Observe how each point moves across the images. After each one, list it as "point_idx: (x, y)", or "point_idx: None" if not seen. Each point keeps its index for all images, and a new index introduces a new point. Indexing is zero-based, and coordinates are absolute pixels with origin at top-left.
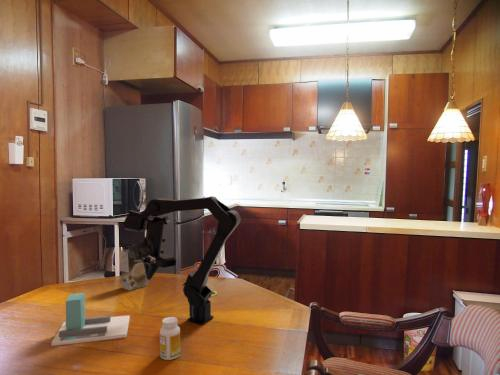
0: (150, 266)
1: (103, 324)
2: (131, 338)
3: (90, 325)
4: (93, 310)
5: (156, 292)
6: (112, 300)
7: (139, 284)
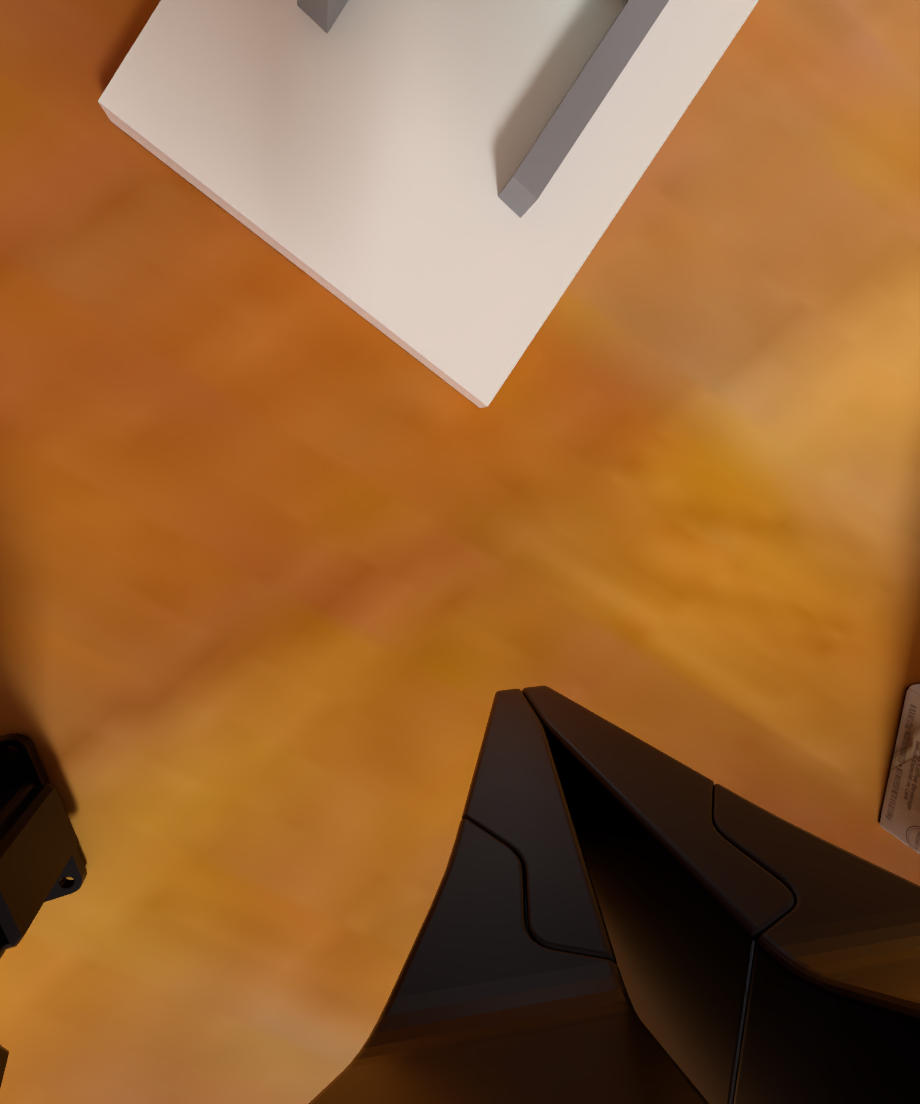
0: (407, 1043)
1: (489, 113)
2: (48, 140)
3: (562, 19)
4: (830, 298)
5: None
6: (866, 507)
7: (917, 778)
